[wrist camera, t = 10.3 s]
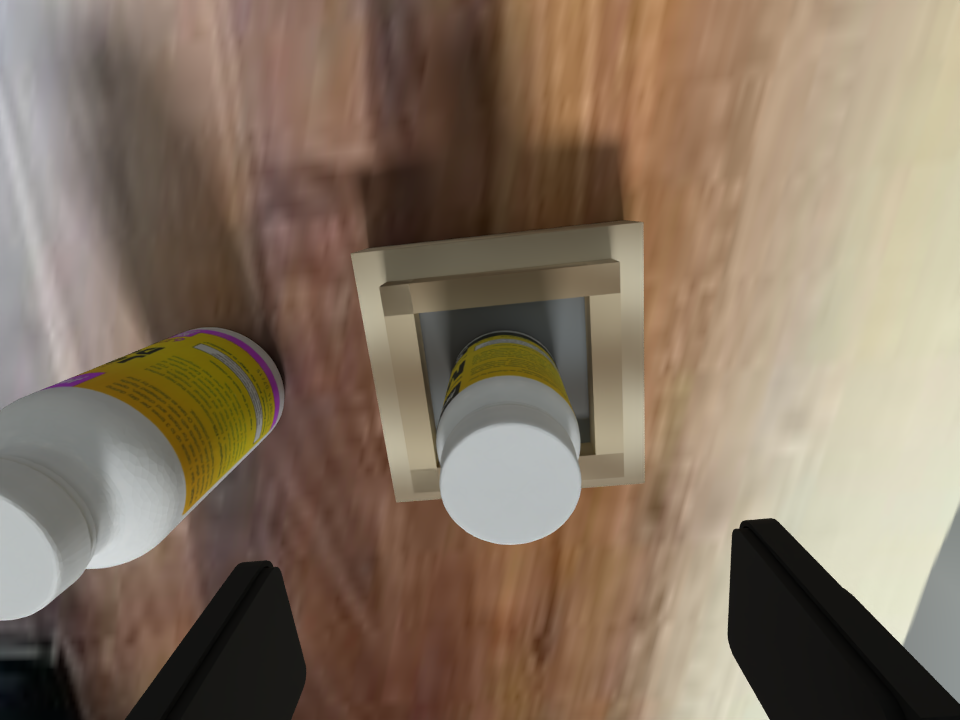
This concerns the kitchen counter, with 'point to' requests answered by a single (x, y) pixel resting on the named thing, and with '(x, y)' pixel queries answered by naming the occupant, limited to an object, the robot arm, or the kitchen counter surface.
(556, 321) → the plinth
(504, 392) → the supplement bottle
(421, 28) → the kitchen counter surface
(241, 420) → the supplement bottle
